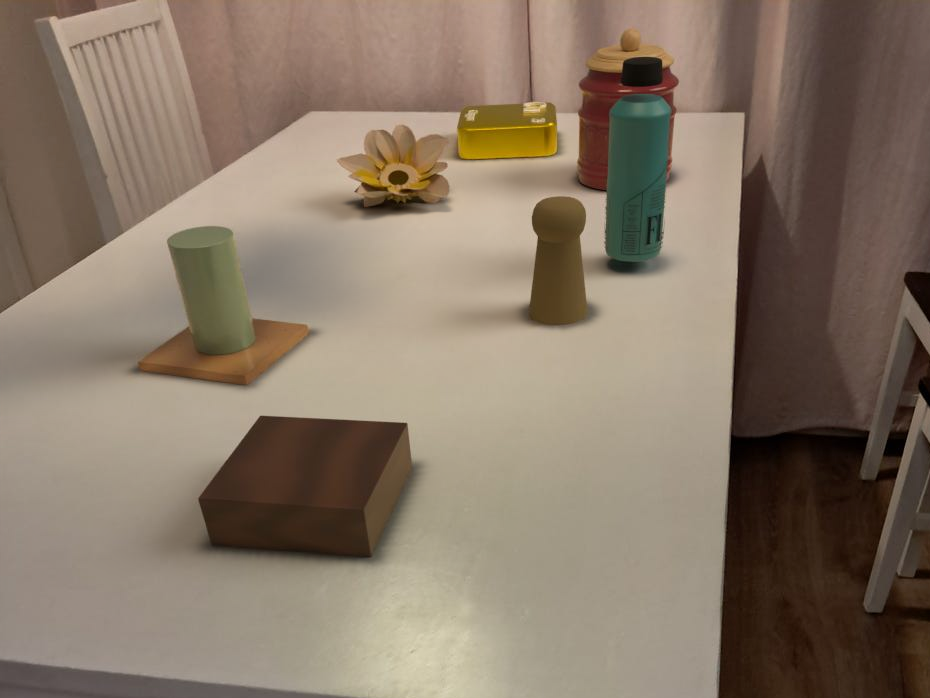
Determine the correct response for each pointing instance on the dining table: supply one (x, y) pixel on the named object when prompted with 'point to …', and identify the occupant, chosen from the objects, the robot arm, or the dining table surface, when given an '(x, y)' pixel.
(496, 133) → the element tile
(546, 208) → the pepper shaker
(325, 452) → the walnut block
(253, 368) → the wooden trivet
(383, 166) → the decorative flower
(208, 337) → the sage cup
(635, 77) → the beverage bottle
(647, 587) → the dining table surface
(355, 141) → the dining table surface
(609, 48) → the kitchen canister
